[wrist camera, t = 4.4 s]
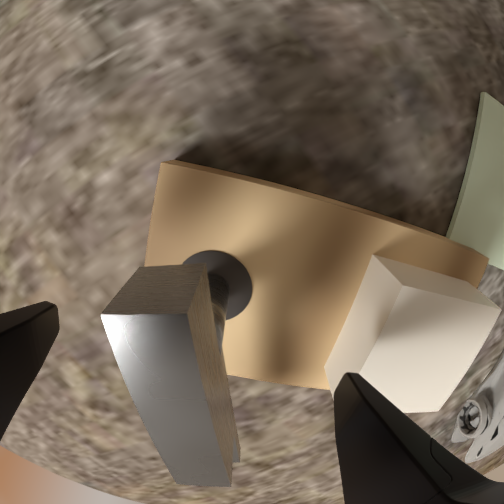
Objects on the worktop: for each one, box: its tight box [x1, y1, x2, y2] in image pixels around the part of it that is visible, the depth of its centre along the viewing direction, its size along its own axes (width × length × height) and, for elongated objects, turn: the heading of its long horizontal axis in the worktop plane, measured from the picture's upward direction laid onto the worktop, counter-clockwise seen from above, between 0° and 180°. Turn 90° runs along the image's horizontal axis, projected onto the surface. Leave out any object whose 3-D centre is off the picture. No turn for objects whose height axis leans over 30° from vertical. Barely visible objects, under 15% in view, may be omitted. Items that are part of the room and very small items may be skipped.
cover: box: [324, 254, 502, 413], centre depth 12 cm, size 6×6×3 cm
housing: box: [144, 160, 489, 390], centre depth 14 cm, size 16×9×2 cm, turn 76°
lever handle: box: [100, 263, 240, 487], centre depth 10 cm, size 10×2×7 cm, turn 4°
